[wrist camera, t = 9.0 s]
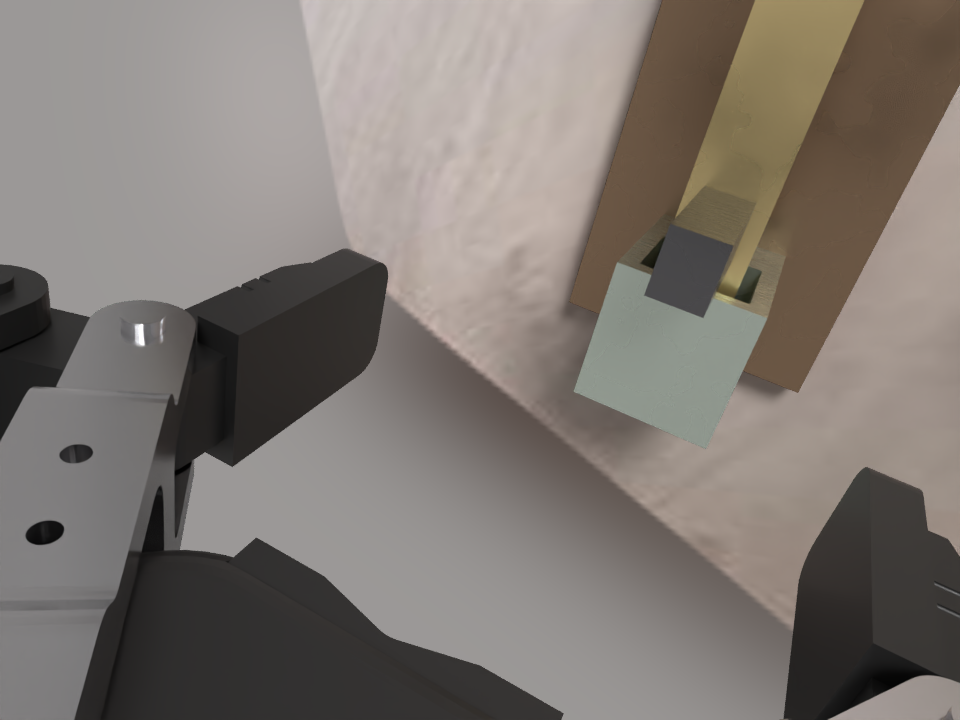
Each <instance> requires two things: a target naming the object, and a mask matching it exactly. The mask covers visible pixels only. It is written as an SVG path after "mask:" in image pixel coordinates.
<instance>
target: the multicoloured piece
mask: <svg viewBox="0 0 960 720" xmlns="http://www.w3.org/2000/svg"><path fill="white" fill-rule="evenodd" d="M754 2H755V0H662V3H661V7H660V10H659V13H658V16H657V19H656V23H655V26H654V29H653V32H652V36H651V39H650V42H649V45H648V49H647V52H646V55H645V58H644V62H643V65H642V68H641V71H640V74H639V78H638V81H637V84H636V87H635V91H634V94H633V97H632V100H631V104H630V107H629V110H628V113H627V117H626V120H625V123H624V126H623V129H622V133H621V136H620V139H619V142H618V146H617V149H616V152H615V155H614V159H613V162H612V165H611V168H610V172H609V175H608V178H607V181H606V184H605V188H604V191H603V194H602V197H601V201H600V204H599V207H598V210H597V214H596V217H595V220H594V223H593V226H592V230H591V233H590V236H589V239H588V243H587V246H586V249H585V252H584V256H583V259H582V262H581V265H580V269H579V272H578V275H577V278H576V281H575V285H574V288H573V291H572V294H571V298H570V301H569V302H570V303H573V304H575V305H578V306H580V307H583V308H585V309H588V310H590V311H593V312H595V313H598V314H599V317H598V320H597V323H596V326H595V329H594V332H593V335H592V338H591V341H590V344H589V347H588V350H587V353H586V356H585V359H584V362H583V365H582V368H581V371H580V374H579V377H578V380H577V383H576V386H575V389H574V392H575V393H578V394H580V395H582V396H585V397H587V398H589V399H592V400H594V401H596V402H598V403H601V404H603V405H605V406H608V407H610V408H612V409H615V410H617V411H619V412H622V413H624V414H626V415H629V416H631V417H633V418H635V419H638V420H640V421H642V422H645V423H647V424H649V425H652V426H654V427H656V428H659V429H661V430H663V431H665V432H668V433H670V434H672V435H675V436H677V437H679V438H682V439H684V440H686V441H689V442H691V443H693V444H696V445H698V446H700V447H702V448H705V449H706V448H707V446H708V444H709V442H710V440H711V437H712V435H713V433H714V431H715V429H716V427H717V425H718V423H719V420H720V418H721V416H722V414H723V412H724V410H725V408H726V406H727V403H728V401H729V399H730V397H731V395H732V393H733V391H734V388H735V386H736V384H737V382H738V380H739V378H740V376H741V374H742V371H744V372H747V373H749V374H752V375H754V376H757V377H759V378H762V379H764V380H767V381H769V382H772V383H774V384H777V385H780V386H782V387H785V388H787V389H790V390H792V391H795V392H797V393H798V392H799V390H800V388H801V386H802V384H803V382H804V380H805V378H806V376H807V375H808V373H809V371H810V369H811V367H812V365H813V363H814V361H815V359H816V357H817V356H818V354H819V352H820V350H821V348H822V346H823V344H824V342H825V340H826V338H827V336H828V335H829V333H830V331H831V329H832V327H833V325H834V323H835V321H836V319H837V317H838V315H839V314H840V312H841V310H842V308H843V306H844V304H845V302H846V300H847V298H848V296H849V295H850V293H851V291H852V289H853V287H854V285H855V283H856V281H857V279H858V277H859V275H860V274H861V272H862V270H863V268H864V266H865V264H866V262H867V260H868V258H869V256H870V255H871V253H872V251H873V249H874V247H875V245H876V243H877V241H878V239H879V237H880V235H881V234H882V232H883V230H884V228H885V226H886V224H887V222H888V220H889V218H890V216H891V214H892V213H893V211H894V209H895V207H896V205H897V203H898V201H899V199H900V197H901V195H902V194H903V192H904V190H905V188H906V186H907V184H908V182H909V180H910V178H911V176H912V174H913V173H914V171H915V169H916V167H917V165H918V163H919V161H920V159H921V157H922V155H923V154H924V152H925V150H926V148H927V146H928V144H929V142H930V140H931V138H932V136H933V134H934V133H935V131H936V129H937V127H938V125H939V123H940V121H941V119H942V117H943V115H944V113H945V112H946V110H947V108H948V106H949V104H950V102H951V100H952V98H953V96H954V94H955V93H956V91H957V89H958V87H959V85H960V0H864V2H863V5H862V7H861V9H860V12H859V14H858V16H857V18H856V21H855V23H854V25H853V28H852V30H851V32H850V34H849V37H848V39H847V41H846V44H845V46H844V48H843V50H842V53H841V55H840V57H839V60H838V62H837V64H836V66H835V69H834V71H833V73H832V76H831V78H830V80H829V82H828V85H827V87H826V89H825V92H824V94H823V96H822V99H821V101H820V103H819V105H818V108H817V110H816V112H815V115H814V117H813V119H812V121H811V124H810V126H809V128H808V131H807V133H806V135H805V137H804V140H803V142H802V144H801V147H800V149H799V151H798V153H797V156H796V158H795V160H794V163H793V165H792V167H791V170H790V172H789V174H788V176H787V179H786V181H785V183H784V186H783V188H782V190H781V192H780V195H779V197H778V199H777V202H776V204H775V206H774V208H773V211H772V213H771V215H770V218H769V220H768V222H767V224H766V227H765V229H764V231H763V234H762V236H761V238H760V241H759V243H758V245H757V247H756V250H755V252H754V254H753V257H752V259H751V261H750V263H749V266H748V268H747V270H746V273H745V275H744V277H743V279H742V282H741V284H740V286H739V289H738V291H737V293H736V295H735V298H731V297H729V296H726V295H723V294H720V293H718V292H716V294H715V296H714V298H713V300H712V302H711V304H710V306H709V308H708V310H707V312H706V314H705V316H704V318H702V317H699V316H696V315H694V314H691V313H689V312H686V311H683V310H681V309H678V308H676V307H673V306H670V305H668V304H665V303H662V302H660V301H657V300H655V299H652V298H649V297H647V296H644V294H645V291H646V289H647V286H648V283H649V280H650V278H651V275H652V272H653V269H654V267H655V264H656V261H657V258H658V256H659V253H660V250H661V248H662V245H663V242H664V239H665V237H666V234H667V231H668V228H669V226H670V223H671V222H672V221H673V220H674V219H675V217H676V214H677V211H678V209H679V206H680V203H681V200H682V198H683V195H684V192H685V190H686V187H687V184H688V181H689V179H690V176H691V173H692V171H693V168H694V165H695V162H696V160H697V157H698V154H699V151H700V149H701V146H702V143H703V141H704V138H705V135H706V132H707V130H708V127H709V124H710V122H711V119H712V116H713V113H714V111H715V108H716V105H717V103H718V100H719V97H720V94H721V92H722V89H723V86H724V83H725V81H726V78H727V75H728V73H729V70H730V67H731V64H732V62H733V59H734V56H735V54H736V51H737V48H738V45H739V43H740V40H741V37H742V35H743V32H744V29H745V26H746V24H747V21H748V18H749V15H750V13H751V10H752V7H753V5H754Z"/></svg>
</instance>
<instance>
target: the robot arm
mask: <svg viewBox="0 0 960 720" xmlns="http://www.w3.org/2000/svg"><path fill="white" fill-rule="evenodd" d="M387 281H388V271H387V267H386V266H385V265H384V264H383V263H381V262H378V261H376V260H374V259H371V258H369V257H366V256H364V255H362V254H359V253H357V252H354V251H352V250H350V249H341V250H339V251H337V252H335V253H333V254H331V255H328V256H326V257H324V258H322V259H320V260H318V261H315V262H313V263H304V264H298V265H291V266H284V267H280V268H278V269H276V270H273V271H271V272H269V273H267V274H264V275H262V276H260V278H259V280H258V279H256V278H255V279H253V280H251V281H248V282H246V283H244V284H242V287H241V288H240V287H235V288H233V289H231V290H228V291H226V292H223V293H221V294H219V295H217V296H214V297H212V298H210V299H208V300H205V301H203V302H201V303H199V304H196V305H194V306H192V307H190V308H187V309H185V310H183V309H182V308H179V307H177V306H174V305H171V304H168V303H163V302H158V301H146V300H138V301H126V302H120V303H115V304H112V305H109V306H107V307H104V308H102V309H100V310H98V311H97V312H95V313H94V314H93V315H92V316H91V317H87V316H83V315H78V314H74V313H69V312H65V311H61V310H57V309H53V308H50V299H49V291H48V283H47V281H46V280H45V278H44V277H43V276H41V275H40V274H38V273H36V272H35V271H32V270H29V269H26V268H22V267H17V266H11V265H0V720H561V719H562V716H563V713H562V712H560V711H558V710H556V709H555V708H553V707H551V706H550V705H548V704H546V703H544V702H543V701H541V700H539V699H537V698H536V697H534V696H532V695H530V694H529V693H527V692H525V691H523V690H522V689H520V688H518V687H516V686H515V685H513V684H511V683H509V682H508V681H506V680H504V679H502V678H501V677H499V676H497V675H495V674H494V673H492V672H490V671H488V670H487V669H485V668H483V667H481V666H479V665H476V664H473V663H469V662H466V661H463V660H460V659H457V658H453V657H450V656H447V655H444V654H440V653H437V652H434V651H431V650H428V649H424V648H421V647H418V646H415V645H411V644H408V643H405V642H402V641H398V640H396V639H393V638H390V637H389V636H387V635H385V634H384V633H383V632H381V631H380V630H379V629H378V628H377V627H376V626H375V625H374V624H373V623H372V622H371V621H370V620H369V619H368V618H367V617H366V616H364V614H363V613H361V612H360V611H359V610H358V609H357V608H356V607H355V606H354V605H353V604H352V603H351V602H350V601H349V600H348V599H347V598H346V597H345V596H344V595H343V594H342V593H341V592H340V591H339V590H338V589H337V588H336V587H335V586H334V585H333V584H332V583H331V582H329V581H328V580H327V579H326V578H325V577H324V576H322V575H321V574H319V573H317V572H316V571H314V570H312V569H310V568H308V567H307V566H305V565H303V564H302V563H300V562H298V561H296V560H295V559H293V558H291V557H289V556H288V555H286V554H284V553H282V552H281V551H279V550H277V549H275V548H274V547H272V546H270V545H268V544H267V543H265V542H263V541H261V540H260V539H258V538H255V539H254V540H253V541H252V542H251V543H250V544H248V545H247V546H246V547H245V548H244V549H243V550H242V551H240V552H239V553H238V554H237V555H236V556H235V557H234V558H233V557H230V556H226V555H221V554H216V553H210V552H203V551H190V550H180V546H181V540H182V535H183V530H184V524H185V519H186V514H187V508H188V503H189V498H190V492H191V487H192V482H193V477H194V459H195V458H197V457H198V456H200V455H201V454H203V453H204V452H206V453H208V454H210V455H211V456H213V457H215V458H217V459H219V460H221V461H223V462H224V463H226V464H228V465H230V466H232V467H233V466H234V465H236V464H237V463H238V462H240V461H241V460H242V459H244V458H245V457H246V456H248V455H249V454H251V453H252V452H254V451H255V450H256V449H258V448H259V447H260V446H262V445H263V444H265V443H266V442H267V441H269V440H270V439H271V438H273V437H274V436H276V435H277V434H278V433H280V432H281V431H282V430H284V429H285V428H287V427H288V426H289V425H290V424H292V423H293V422H295V421H296V420H298V419H299V418H301V417H302V416H303V415H305V414H306V413H307V412H309V411H310V410H312V409H313V408H314V407H316V406H317V405H318V404H320V403H321V402H323V401H324V400H325V399H327V398H328V397H329V396H331V395H332V394H333V393H335V392H336V391H338V390H339V389H341V388H342V387H343V386H344V385H346V384H347V383H348V382H350V381H351V380H353V379H354V378H356V377H357V376H358V375H360V374H361V373H362V372H363V371H364V370H365V368H366V367H367V366H368V364H369V363H370V361H371V359H372V357H373V355H374V352H375V350H376V346H377V342H378V336H379V330H380V324H381V318H382V312H383V306H384V300H385V294H386V288H387ZM781 720H960V556H959V555H958V553H957V552H956V550H955V549H954V547H953V546H952V544H951V543H950V541H949V540H948V539H946V538H944V537H942V536H939V535H937V534H935V533H932V532H930V531H928V528H927V521H926V513H925V505H924V497H923V492H922V491H921V490H920V489H918V488H916V487H913V486H911V485H908V484H906V483H904V482H901V481H899V480H896V479H894V478H892V477H889V476H887V475H885V474H882V473H880V472H877V471H875V470H873V469H870V468H868V467H865V468H863V469H862V470H861V471H860V472H859V473H858V474H857V476H856V477H855V479H854V480H853V482H852V483H851V485H850V486H849V488H848V490H847V491H846V493H845V494H844V496H843V498H842V499H841V501H840V502H839V504H838V505H837V507H836V509H835V510H834V512H833V513H832V515H831V517H830V518H829V520H828V521H827V523H826V525H825V526H824V528H823V529H822V531H821V533H820V534H819V536H818V537H817V539H816V541H815V542H814V544H813V546H812V547H811V549H810V551H809V553H808V556H807V558H806V560H805V563H804V565H803V568H802V571H801V575H800V579H799V584H798V593H797V602H796V611H795V620H794V629H793V638H792V648H791V656H790V665H789V675H788V684H787V693H786V702H785V711H784V719H781Z"/></svg>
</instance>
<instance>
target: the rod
mask: <svg viewBox="0 0 960 720" xmlns="http://www.w3.org/2000/svg"><path fill="white" fill-rule="evenodd" d="M863 2H864V0H755V2H754V5H753V7H752V10H751V13H750V15H749V18H748V21H747V24H746V26H745V29H744V32H743V35H742V37H741V40H740V43H739V45H738V48H737V51H736V54H735V56H734V59H733V62H732V64H731V67H730V70H729V73H728V75H727V78H726V81H725V83H724V86H723V89H722V92H721V94H720V97H719V100H718V103H717V105H716V108H715V111H714V113H713V116H712V119H711V122H710V124H709V127H708V130H707V132H706V135H705V138H704V141H703V143H702V146H701V149H700V151H699V154H698V157H697V160H696V162H695V165H694V168H693V171H692V173H691V176H690V179H689V181H688V184H687V187H686V190H685V192H684V195H683V198H682V200H681V203H680V206H679V209H678V211H677V214H676V217H675V219H674V220H673V221H672V222H671V223H670V226H669V228H668V231H667V234H666V237H665V239H664V242H663V245H662V248H661V250H660V253H659V256H658V258H657V261H656V264H655V267H654V269H653V272H652V275H651V278H650V280H649V283H648V286H647V289H646V291H645V294H644V296H647V297H649V298H652V299H655V300H657V301H660V302H662V303H665V304H668V305H670V306H673V307H676V308H678V309H681V310H683V311H686V312H689V313H691V314H694V315H696V316H699V317H702V318H704V316H705V314H706V312H707V310H708V308H709V306H710V304H711V302H712V300H713V298H714V296H715V294H716V292H718V293H720V294H723V295H726V296H729V297H731V298H735V295H736V293H737V291H738V289H739V286H740V284H741V282H742V279H743V277H744V275H745V273H746V270H747V268H748V266H749V263H750V261H751V259H752V257H753V254H754V252H755V250H756V247H757V245H758V243H759V241H760V238H761V236H762V234H763V231H764V229H765V227H766V224H767V222H768V220H769V218H770V215H771V213H772V211H773V208H774V206H775V204H776V202H777V199H778V197H779V195H780V192H781V190H782V188H783V186H784V183H785V181H786V179H787V176H788V174H789V172H790V170H791V167H792V165H793V163H794V160H795V158H796V156H797V153H798V151H799V149H800V147H801V144H802V142H803V140H804V137H805V135H806V133H807V131H808V128H809V126H810V124H811V121H812V119H813V117H814V115H815V112H816V110H817V108H818V105H819V103H820V101H821V99H822V96H823V94H824V92H825V89H826V87H827V85H828V82H829V80H830V78H831V76H832V73H833V71H834V69H835V66H836V64H837V62H838V60H839V57H840V55H841V53H842V50H843V48H844V46H845V44H846V41H847V39H848V37H849V34H850V32H851V30H852V28H853V25H854V23H855V21H856V18H857V16H858V14H859V12H860V9H861V7H862V5H863Z"/></svg>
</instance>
